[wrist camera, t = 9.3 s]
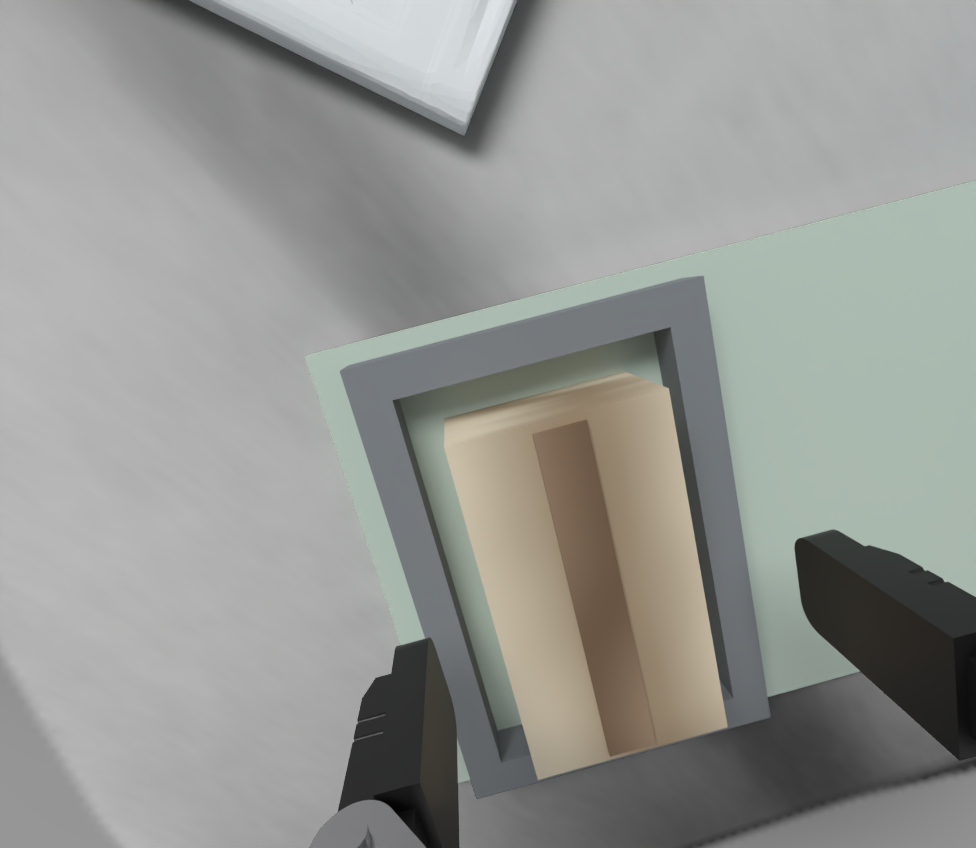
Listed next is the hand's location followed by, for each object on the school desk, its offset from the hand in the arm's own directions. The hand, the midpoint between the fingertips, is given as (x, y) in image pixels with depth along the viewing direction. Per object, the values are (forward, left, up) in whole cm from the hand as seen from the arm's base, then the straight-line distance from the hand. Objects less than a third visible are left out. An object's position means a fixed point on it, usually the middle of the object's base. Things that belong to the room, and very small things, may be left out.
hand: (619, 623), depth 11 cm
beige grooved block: (0, 0, -4) cm, 4 cm away
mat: (0, +5, -5) cm, 7 cm away
